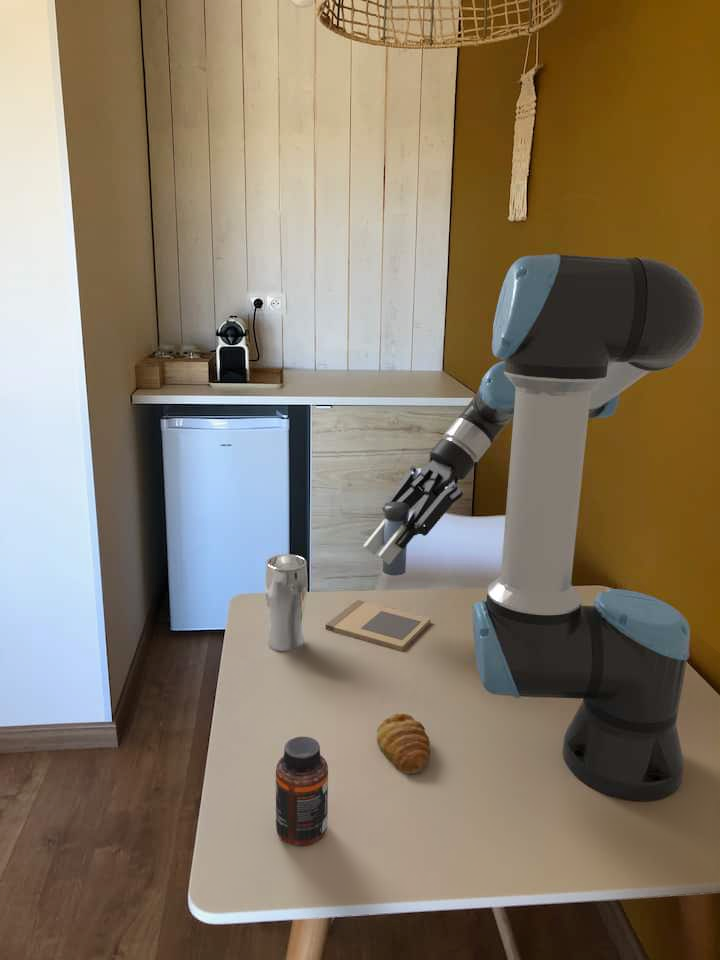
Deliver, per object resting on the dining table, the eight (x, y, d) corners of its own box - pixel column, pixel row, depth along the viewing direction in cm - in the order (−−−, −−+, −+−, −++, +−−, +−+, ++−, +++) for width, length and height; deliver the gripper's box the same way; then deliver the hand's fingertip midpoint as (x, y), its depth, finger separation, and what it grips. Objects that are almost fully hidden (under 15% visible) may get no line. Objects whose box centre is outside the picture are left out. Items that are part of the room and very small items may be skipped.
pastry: (441, 773, 101) (443, 748, 99) (392, 781, 99) (393, 756, 98) (417, 731, 109) (418, 707, 108) (371, 738, 107) (372, 714, 106)
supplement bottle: (338, 831, 90) (340, 747, 86) (299, 858, 86) (300, 771, 82) (303, 805, 94) (304, 724, 90) (265, 829, 90) (264, 745, 86)
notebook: (401, 650, 130) (402, 646, 130) (325, 628, 137) (325, 624, 137) (430, 622, 141) (430, 618, 140) (357, 603, 147) (357, 599, 147)
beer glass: (268, 655, 128) (268, 571, 123) (263, 635, 134) (262, 554, 130) (310, 651, 129) (311, 568, 125) (303, 632, 136) (303, 552, 131)
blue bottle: (399, 577, 132) (402, 511, 129) (377, 572, 134) (380, 506, 131) (409, 569, 136) (413, 504, 132) (388, 564, 138) (391, 500, 134)
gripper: (501, 475, 131) (417, 584, 127) (440, 452, 144) (362, 550, 141) (479, 448, 126) (391, 560, 123) (418, 427, 140) (337, 527, 137)
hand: (376, 554), depth 132 cm, fingers closed on blue bottle, 4 cm apart
